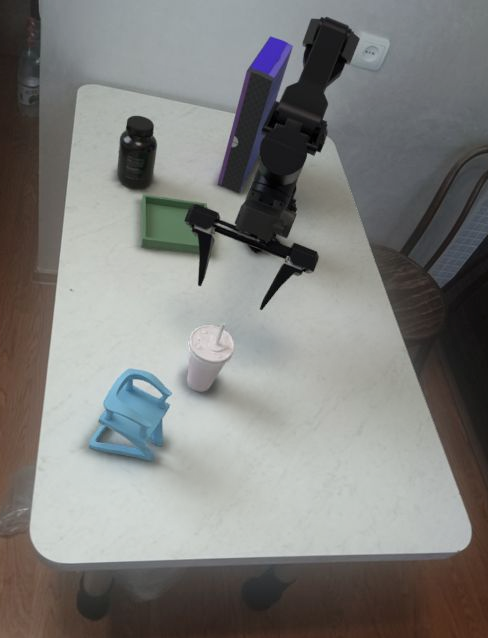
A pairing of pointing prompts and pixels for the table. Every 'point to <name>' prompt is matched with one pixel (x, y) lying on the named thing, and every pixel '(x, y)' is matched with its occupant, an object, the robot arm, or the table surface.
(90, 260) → the table surface
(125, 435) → the chair
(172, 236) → the tray
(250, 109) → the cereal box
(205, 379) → the smoothie
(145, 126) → the supplement bottle
